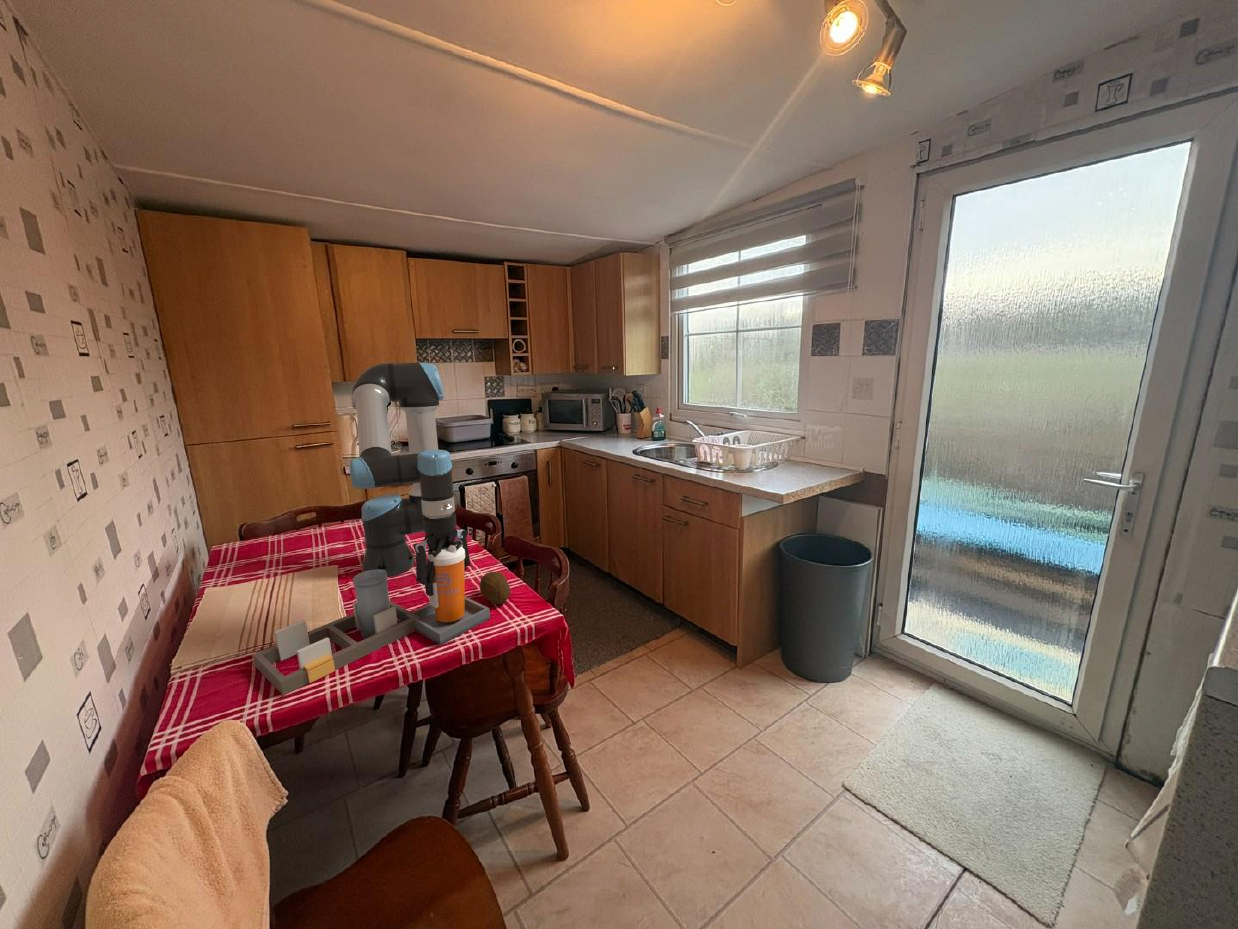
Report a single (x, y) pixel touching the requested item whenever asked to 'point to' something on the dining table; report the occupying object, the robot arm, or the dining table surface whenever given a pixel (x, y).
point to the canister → (370, 598)
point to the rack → (328, 646)
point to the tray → (448, 630)
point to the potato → (495, 587)
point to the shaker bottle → (450, 582)
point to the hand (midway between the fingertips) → (446, 599)
